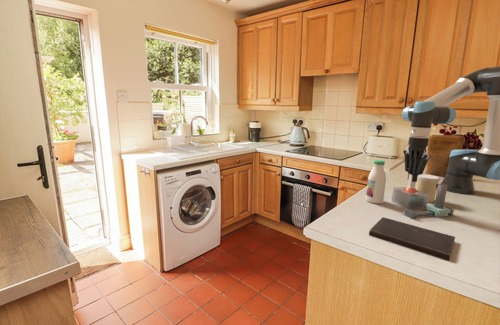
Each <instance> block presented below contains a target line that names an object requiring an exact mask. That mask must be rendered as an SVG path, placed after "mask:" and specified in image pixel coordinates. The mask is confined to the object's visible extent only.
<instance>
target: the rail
mask: <svg viewBox="0 0 500 325" xmlns="http://www.w3.org/2000/svg"><path fill="white" fill-rule="evenodd" d="M444 207H446V208H449V209H451V212H450V213H448V216H452V217H453V216H454V212H455V208H452V207H450V206H447V205H444ZM403 216H405V217H407V218H408V219H411V220H414V219H415V218H427V217H436V216H435V212H433V211H428V210H426V211H425V210H421V211H415V210H413V209H408V208H404V214H403Z"/></svg>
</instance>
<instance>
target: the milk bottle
mask: <svg viewBox="0 0 500 325" xmlns="http://www.w3.org/2000/svg"><path fill="white" fill-rule="evenodd" d="M385 163H386V162H385V160H381V159H373V167H372V170H371V171H370V172H369V174H368V177H367V186H366V193H365V200H366V202H368V203H371V204H377V205H378V204H382V203H383V202H384V197H385V190H386V183H387V182H386V181H387V176H386V173H385V169H384V168H385Z"/></svg>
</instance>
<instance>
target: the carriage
mask: <svg viewBox="0 0 500 325" xmlns="http://www.w3.org/2000/svg"><path fill="white" fill-rule="evenodd" d="M447 186H448V185H446V184H441V183H438V187H437V191H436V194H435V198H434V204H427V207H426V208H425V209H427V211H433V212H435V216H434V217H436V218H437V217H447V216H449V215H448V213H450V212H451V209H449V208H446V207H444V206H445V200H446V198H447Z"/></svg>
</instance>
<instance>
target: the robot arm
mask: <svg viewBox="0 0 500 325" xmlns="http://www.w3.org/2000/svg"><path fill="white" fill-rule="evenodd" d="M476 93H477V94H478V93H486V97H487V98H488V99H489V104H488V110H487V116H486V122H485V127H484V135H483V138H482V139H483V141H482V146H481V148H480V149H463V148H462V149H458V150H452V151H451V153H450V156H449V163H448V168H447V174H446V176H445V177H443V179H442V181H441V183H440V184H446V185H448V186H447V191H448V192H451V193H457V194H463V195H464V194H465V195H471V194H474V193H475V185H474V180H473V179H474V178H473V177H474V176H476V177H480V178H485V179H488V180H494V181H500V66H494V67H493V66H491V67H484V68H481V69H478V70H475V71H473V72H470V73H468V74H467V75H464V76H462V77H460V78H459V79H457V80H456V81H455V82H454V84H452V85H450V86H448V87H446V88H445V89H443V90H441V91H439V92H437V93H436V94H434V95H433V96H432V95H431V96H430V97H428V98H427V99H425V100H423V101H422V100H421V101H419V100H418V101H416V102H415V103H414V106H413V105H410V106H406V107H404V108H403V110H402V112H401V117H402V120H404V121H406V122H410V123H411V125H410V130H409V131H410V132H409V136H410V137H409V138H408V143H407V145H408V148H407V149H406V150H403V155H404V156H403V157H404V171H405V172H407V174H408V175H407V181H408V182H407V186H406V187H407V188H409V189H412V188H415V189H416V182H417V178H418V175H422V174H424V171H425V169H426V168H427V162H428V159H429V158H430V157H431V155H428V154H427V147H428V143H429V137H430V136H431V130H432V126H433V125H432V124H434V125H435V124H437V125H439V124H441V125H445V124H446V125H447V124H448V125H449V124H452V122H454V121H455V120H456V118H457V111H456V109H455V108H454V107H452V106H449V105H450V104H453V103H454V102H455V101H458V100H459V99H461V98H463V97H468V96H471V95H472V94H476ZM447 191H446V192H447Z"/></svg>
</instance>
